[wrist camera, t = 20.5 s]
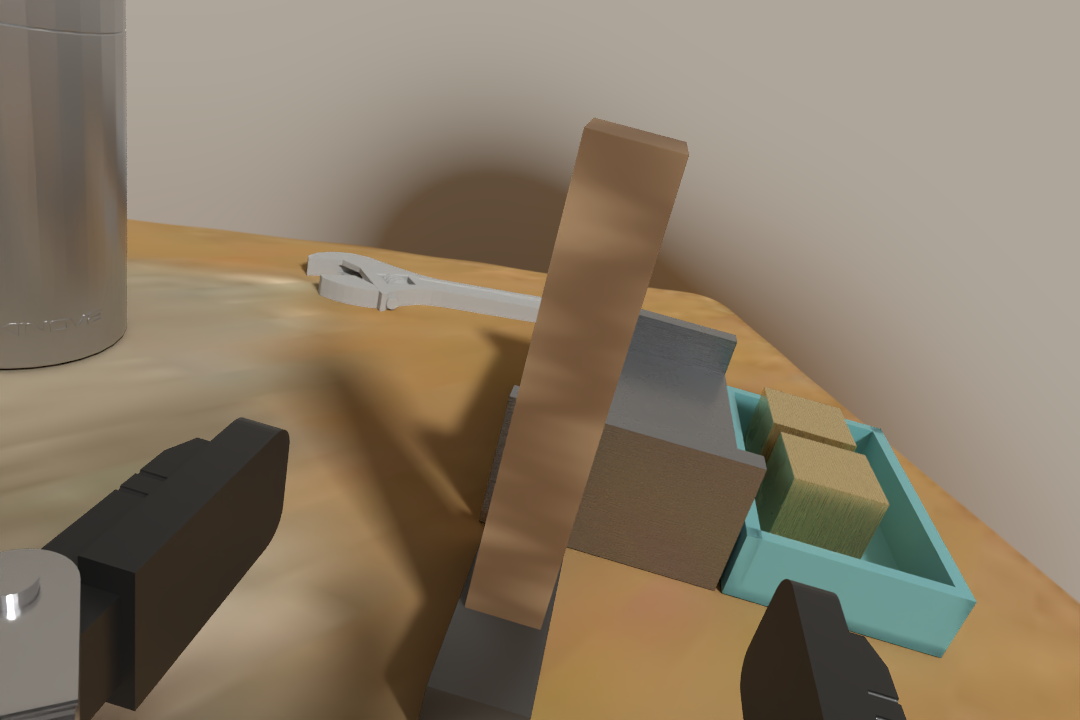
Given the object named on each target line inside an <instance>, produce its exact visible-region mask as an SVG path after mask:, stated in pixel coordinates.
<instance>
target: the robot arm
mask: <svg viewBox="0 0 1080 720" xmlns="http://www.w3.org/2000/svg"><path fill="white" fill-rule="evenodd" d="M125 28H126V22H125V0H0V368H3V369H8V368H28V367H39V366H46V365H53V364H60V363H64V362H68V361H73V360H77V359H81V358H84V357H87V356H89V355H92V354H95V353H98V352H100V351H102V350H104V349H106V348H107V347H109V346H111V345H113V344H114V343H115V342H116V341H118V340H119V339H120V338H121V337H122V336H123V334H124V332H125V330H126V328H127V153H126V152H127V142H126V141H127V138H126V135H127V134H126V31H125ZM289 442H290V440H289V434H288V432H287V431H286V430H283V429H280V428H276V427H273V426H269V425H266V424H263V423H259V422H256V421H252V420H249V419H246V418H238V419H236V420H235V421H233V422H232V423H231V424H230V425H229V426H228V427H226V428H225V429H224V430H223V431H222V432H221V433H219V434H218V435H217V436H216V437H215V438H214V439H212V440H211V441H207V440H203V439H200V438H195V439H193V440H190V441H188V442H185V443H182V444H180V445H177V446H175V447H172V448H169V449H167V450H164V451H163V452H162V453H161V454H159V455H158V456H157V457H156V458H154V459H153V460H152V461H151V462H149V463H148V464H147V465H146V466H144V467H143V468H142V469H140V473H139V474H136V473H135V474H134V475H133V476H132V477H130V478H129V479H128V480H127V481H125V482H124V483H123V484H122V485H121V486H120V489H119V490H114V491H113V492H112V493H110V494H109V495H108V496H107V497H105V498H104V499H103V500H102V501H100V502H99V503H98V504H97V505H95V506H94V507H93V508H92V509H90V510H89V511H88V512H87V513H85V514H84V515H83V516H82V517H80V518H79V519H78V520H77V521H75V522H74V523H73V524H72V525H70V526H69V527H68V528H67V529H65V530H64V531H63V532H62V533H60V534H59V535H58V536H57V537H55V538H54V539H53V540H52V541H50V542H49V543H48V544H47V545H45V546H44V547H43V548H42V549H15V550H9V551H3V552H0V720H90V719H91V718H92V717H93V716H94V715H95V713H96V712H97V711H98V710H99V709H100V708H101V706H102V705H103V704H104V703H105V702H108V703H111V704H114V705H117V706H120V707H124V708H127V709H130V710H133V711H136V709H137V708H138V707H139V706H140V704H141V703H142V702H143V701H144V699H145V698H146V697H147V696H148V694H149V693H150V692H151V691H152V689H153V688H154V687H155V686H156V684H157V683H158V682H159V681H160V679H161V678H162V677H163V676H164V674H165V673H166V672H167V671H168V669H169V668H170V667H171V666H172V665H173V663H174V662H175V661H176V660H177V658H178V657H179V656H180V655H181V653H182V652H183V651H184V650H185V648H186V647H187V646H188V645H189V643H190V642H191V641H192V640H193V638H194V637H195V636H196V635H197V633H198V632H199V631H200V630H201V628H202V627H203V626H204V625H205V623H206V622H207V621H208V620H209V618H210V617H211V616H212V615H213V614H214V612H215V611H216V610H217V609H218V607H219V606H220V605H221V604H222V602H223V601H224V600H225V599H226V597H227V596H228V595H229V594H230V592H231V591H232V590H233V589H234V587H235V586H236V585H237V584H238V582H239V581H240V580H241V579H242V577H243V576H244V575H245V574H246V572H247V571H248V570H249V569H250V567H251V566H252V565H253V564H254V563H255V561H256V560H257V559H258V558H259V556H260V555H261V554H262V553H263V551H264V550H265V549H266V547H267V546H268V545H269V543H270V541H271V540H272V538H273V536H274V534H275V532H276V529H277V527H278V524H279V521H280V518H281V514H282V509H283V501H284V491H285V482H286V472H287V463H288V453H289ZM740 692H741V702H742V710H743V719H744V720H906V717H905V715H904V712H903V709H902V706H901V705H900V704H898V699H899V698H898V695H897V692H896V689H895V687H894V684H893V681H892V678H891V675H890V673H889V670H888V667H887V666H886V665H885V663H884V662H883V661H882V659H881V658H880V657H879V655H878V654H877V653H876V651H875V650H874V649H873V647H872V646H871V645H870V643H869V642H868V641H867V639H866V638H865V637H864V636H860V635H857V634H854V633H850V632H849V629H848V626H847V623H846V620H845V616H844V613H843V610H842V607H841V604H840V601H839V598H838V596H837V595H836V594H835V593H833V592H830V591H827V590H823V589H820V588H816V587H813V586H810V585H806V584H803V583H799V582H796V581H793V580H789V579H784V580H783V581H781V583H780V584H779V585H778V587H777V589H776V591H775V593H774V595H773V597H772V599H771V601H770V603H769V605H768V607H767V610H766V612H765V614H764V616H763V618H762V620H761V622H760V624H759V626H758V628H757V631H756V633H755V635H754V637H753V639H752V641H751V643H750V645H749V647H748V650H747V652H746V655H745V658H744V662H743V666H742V672H741V681H740Z"/></svg>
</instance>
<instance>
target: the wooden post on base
mask: <svg viewBox="0 0 1080 720" xmlns="http://www.w3.org/2000/svg"><path fill="white" fill-rule="evenodd" d="M688 157H689V153H688V148H687V143H686V142H684V141H680V140H676V139H673V138H669V137H665V136H661V135H657V134H654V133H650V132H646V131H642V130H639V129H635V128H631V127H627V126H623V125H620V124H616V123H612V122H608V121H605V120H601V119H597V118H593V119H592V120H591V121H590V122H589V123H588V124H587V125H586V126H585V127H584V131H583V134H582V138H581V142H580V146H579V150H578V155H577V159H576V163H575V167H574V171H573V175H572V179H571V183H570V187H569V191H568V195H567V199H566V203H565V207H564V211H563V215H562V219H561V223H560V227H559V231H558V235H557V239H556V243H555V247H554V251H553V255H552V259H551V263H550V267H549V271H548V275H547V279H546V283H545V287H544V291H543V295H542V299H541V303H540V307H539V311H538V315H537V319H536V323H535V327H534V331H533V335H532V339H531V343H530V347H529V351H528V355H527V359H526V363H525V367H524V371H523V375H522V379H521V383H520V387H519V391H518V395H517V399H516V403H515V407H514V411H513V415H512V419H511V423H510V427H509V431H508V435H507V439H506V443H505V447H504V451H503V455H502V459H501V463H500V467H499V471H498V475H497V479H496V483H495V487H494V491H493V495H492V499H491V503H490V507H489V511H488V515H487V519H486V523H485V527H484V531H483V535H482V539H481V542H480V545H479V548H478V550H477V553H476V556H475V558H474V561H473V564H472V566H471V569H470V572H469V574H468V577H467V580H466V582H465V585H464V588H463V590H462V593H461V596H460V598H459V601H458V604H457V606H456V609H455V611H454V614H453V617H452V619H451V622H450V625H449V627H448V630H447V633H446V635H445V638H444V641H443V643H442V646H441V649H440V651H439V654H438V657H437V659H436V662H435V665H434V667H433V670H432V673H431V675H430V678H429V681H428V683H427V686H426V690H425V695H424V699H423V703H422V707H421V712H420V716H419V720H530V719H531V714H532V709H533V704H534V700H535V695H536V690H537V685H538V680H539V675H540V670H541V665H542V660H543V655H544V650H545V645H546V640H547V635H548V631H549V626H550V621H551V616H552V611H553V606H554V601H555V596H556V591H557V586H558V581H559V576H560V571H561V567H562V562H563V557H564V553H565V550H566V547H567V544H568V541H569V537H570V534H571V531H572V528H573V525H574V521H575V518H576V515H577V512H578V509H579V505H580V502H581V499H582V496H583V493H584V489H585V486H586V483H587V480H588V477H589V473H590V470H591V467H592V464H593V461H594V457H595V454H596V451H597V448H598V445H599V441H600V438H601V435H602V432H603V429H604V425H605V422H606V419H607V416H608V413H609V409H610V406H611V403H612V400H613V397H614V393H615V390H616V387H617V384H618V381H619V377H620V374H621V371H622V368H623V365H624V361H625V358H626V355H627V352H628V349H629V345H630V342H631V339H632V336H633V333H634V330H635V326H636V323H637V320H638V317H639V314H640V310H641V307H642V304H643V301H644V298H645V294H646V291H647V288H648V284H649V282H650V278H651V275H652V272H653V269H654V266H655V262H656V259H657V256H658V253H659V250H660V246H661V243H662V240H663V237H664V234H665V230H666V227H667V224H668V221H669V218H670V214H671V211H672V208H673V205H674V201H675V198H676V195H677V192H678V189H679V186H680V182H681V179H682V176H683V173H684V170H685V166H686V163H687V160H688Z"/></svg>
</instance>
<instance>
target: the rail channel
mask: <svg viewBox="0 0 1080 720" xmlns="http://www.w3.org/2000/svg"><path fill="white" fill-rule="evenodd" d="M736 344H737V339H736V335H733V334H729V333H726V332H722V331H718V330H715V329H711V328H708V327H704V326H700V325H697V324H693V323H690V322H686V321H682V320H679V319H675V318H672V317H668V316H664V315H661V314H657V313H654V312H650V311H647V310H643V309H641V310H640V314H639V317H638V320H637V323H636V326H635V330H634V333H633V336H632V339H631V342H630V345H629V349H628V352H627V355H626V358H625V361H624V365H623V368H622V371H621V374H620V377H619V381H618V384H617V387H616V390H615V393H614V397H613V400H612V403H611V406H610V409H609V413H608V416H607V419H606V422H605V425H604V429H603V432H602V435H601V438H600V441H599V445H598V448H597V451H596V454H595V457H594V461H593V464H592V467H591V470H590V473H589V477H588V480H587V483H586V486H585V489H584V493H583V496H582V499H581V502H580V505H579V509H578V512H577V515H576V518H575V521H574V525H573V528H572V531H571V534H570V537H569V541H568V544H567V547H569V548H572V549H575V550H579V551H582V552H586V553H589V554H592V555H596V556H599V557H602V558H606V559H609V560H613V561H616V562H619V563H623V564H626V565H629V566H633V567H636V568H640V569H643V570H646V571H650V572H653V573H656V574H660V575H663V576H667V577H670V578H673V579H677V580H680V581H683V582H687V583H690V584H694V585H697V586H700V587H704V588H707V589H710V590H715V588H716V586H717V584H718V581H719V579H720V577H721V574H722V572H723V570H724V568H725V565H726V563H727V561H728V558H729V556H730V554H731V551H732V549H733V547H734V545H735V542H736V540H737V538H738V535H739V533H740V531H741V528H742V526H743V524H744V522H745V519H746V517H747V515H748V512H749V510H750V508H751V505H752V503H753V501H754V499H755V496H756V494H757V492H758V489H759V487H760V485H761V482H762V480H763V478H764V476H765V473H766V471H767V468H766V463H765V459H764V456H761V455H758V454H755V453H751V452H748V451H744V450H741V449H737V443H736V437H735V431H734V426H733V420H732V414H731V408H730V402H729V397H728V391H727V385H726V379H725V373H726V370H727V367H728V365H729V362H730V360H731V357H732V354H733V352H734V349H735V346H736ZM519 387H520V386H517V385H514V387H513V389H512V392H511V394H510V396H509V400H508V404H507V408H506V412H505V416H504V420H503V425H502V429H501V433H500V437H499V441H498V445H497V449H496V453H495V457H494V461H493V465H492V469H491V474H490V478H489V482H488V486H487V490H486V494H485V498H484V502H483V506H482V510H481V514H480V518H479V521H481V522H484V523H486V519H487V515H488V511H489V507H490V503H491V499H492V495H493V491H494V487H495V483H496V479H497V475H498V471H499V467H500V463H501V459H502V455H503V451H504V447H505V443H506V439H507V435H508V431H509V427H510V423H511V419H512V415H513V411H514V407H515V403H516V399H517V395H518V391H519Z"/></svg>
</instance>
